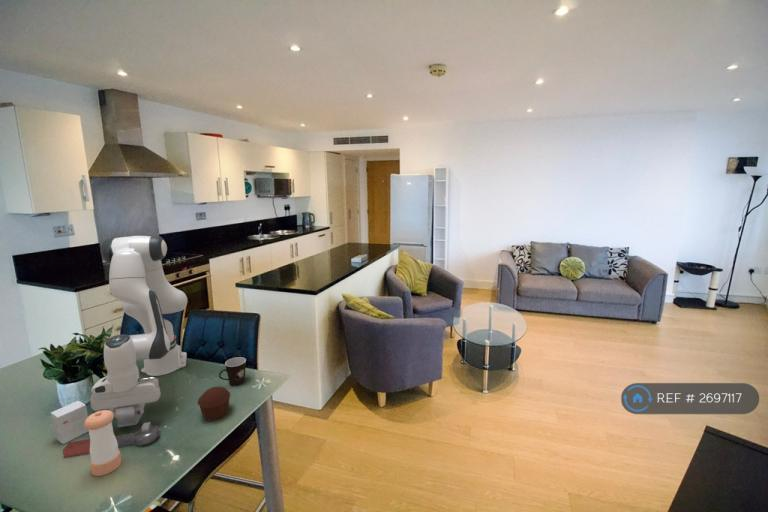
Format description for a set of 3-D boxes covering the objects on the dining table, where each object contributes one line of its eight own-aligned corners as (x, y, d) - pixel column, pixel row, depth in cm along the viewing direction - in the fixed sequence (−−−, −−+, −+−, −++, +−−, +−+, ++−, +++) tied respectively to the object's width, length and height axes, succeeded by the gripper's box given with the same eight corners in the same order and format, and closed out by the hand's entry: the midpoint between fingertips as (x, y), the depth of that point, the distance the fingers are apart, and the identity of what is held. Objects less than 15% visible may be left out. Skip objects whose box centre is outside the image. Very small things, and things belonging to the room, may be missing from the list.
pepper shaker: (116, 472, 104) (107, 416, 100) (87, 478, 102) (77, 422, 98) (125, 455, 111) (117, 402, 107) (98, 461, 108) (88, 407, 105)
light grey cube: (124, 417, 125) (122, 400, 124) (142, 414, 127) (139, 397, 125) (118, 427, 120) (115, 409, 118) (136, 424, 122) (133, 407, 120)
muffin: (210, 403, 138) (208, 381, 136) (236, 404, 138) (235, 382, 136) (192, 422, 127) (190, 398, 125) (221, 424, 126) (219, 399, 124)
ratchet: (73, 446, 115) (70, 430, 113) (162, 430, 122) (161, 416, 121) (60, 461, 108) (57, 445, 107) (156, 444, 116) (154, 429, 115)
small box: (83, 425, 125) (79, 399, 123) (91, 430, 122) (86, 404, 120) (55, 439, 118) (49, 412, 116) (62, 445, 115) (57, 417, 113)
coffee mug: (245, 375, 160) (244, 355, 158) (248, 384, 152) (247, 363, 150) (218, 382, 154) (216, 361, 152) (220, 391, 146) (218, 370, 145)
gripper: (160, 371, 126) (165, 404, 129) (94, 380, 120) (100, 414, 123) (154, 381, 120) (159, 415, 123) (85, 390, 114) (91, 426, 117)
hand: (129, 414), depth 123 cm, fingers closed on light grey cube, 6 cm apart
